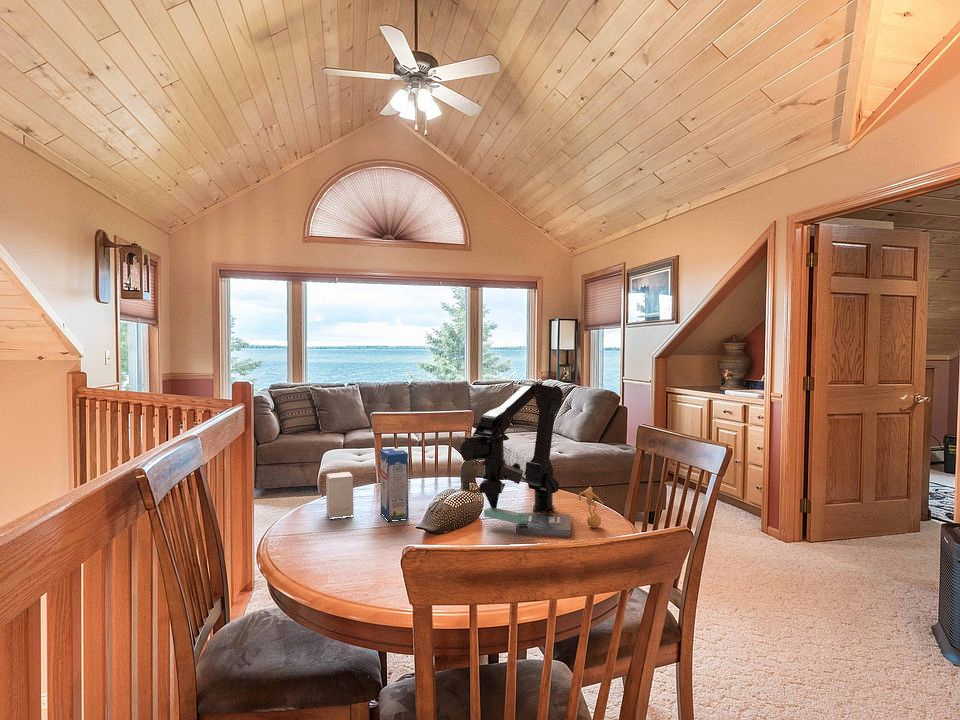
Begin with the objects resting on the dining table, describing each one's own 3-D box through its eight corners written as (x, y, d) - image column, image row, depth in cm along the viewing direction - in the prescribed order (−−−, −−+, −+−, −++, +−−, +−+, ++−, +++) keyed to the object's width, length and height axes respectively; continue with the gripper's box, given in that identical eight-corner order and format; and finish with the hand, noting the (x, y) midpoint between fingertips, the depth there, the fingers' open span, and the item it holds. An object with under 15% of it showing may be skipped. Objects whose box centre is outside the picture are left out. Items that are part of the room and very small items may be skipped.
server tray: (519, 519, 162) (519, 510, 162) (569, 521, 160) (569, 512, 160) (515, 535, 148) (515, 525, 148) (571, 537, 146) (571, 527, 146)
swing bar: (484, 516, 155) (484, 509, 155) (490, 513, 157) (490, 507, 157) (524, 525, 147) (524, 517, 147) (530, 522, 149) (530, 515, 149)
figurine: (610, 529, 152) (610, 486, 152) (598, 534, 148) (598, 490, 148) (586, 522, 158) (585, 481, 158) (573, 527, 154) (573, 485, 154)
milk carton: (380, 513, 169) (379, 449, 168) (400, 510, 171) (399, 447, 171) (388, 522, 159) (387, 454, 159) (408, 519, 162) (408, 453, 161)
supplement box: (354, 517, 165) (353, 476, 164) (328, 520, 162) (328, 478, 162) (350, 510, 171) (350, 471, 171) (326, 513, 169) (325, 473, 168)
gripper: (519, 463, 147) (519, 521, 147) (523, 451, 166) (523, 501, 166) (478, 463, 149) (479, 519, 149) (487, 450, 167) (487, 500, 167)
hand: (494, 510), depth 158 cm, fingers closed
